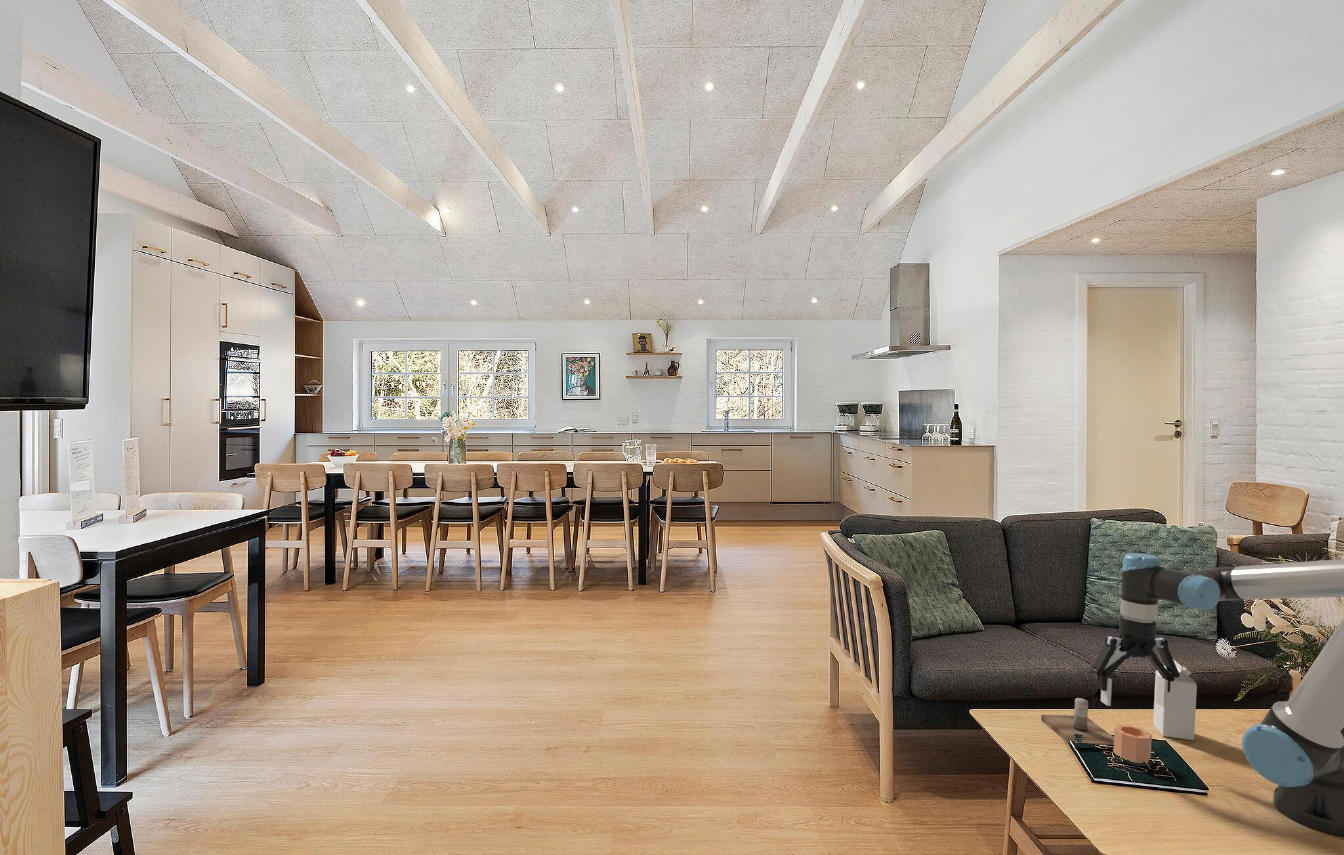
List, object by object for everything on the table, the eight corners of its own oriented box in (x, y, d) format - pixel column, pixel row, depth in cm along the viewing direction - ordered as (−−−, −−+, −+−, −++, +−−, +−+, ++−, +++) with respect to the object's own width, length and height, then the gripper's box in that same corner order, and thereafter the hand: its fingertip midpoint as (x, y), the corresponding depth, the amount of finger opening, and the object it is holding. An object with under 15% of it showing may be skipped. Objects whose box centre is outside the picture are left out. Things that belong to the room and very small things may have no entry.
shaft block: (1122, 749, 178) (1124, 714, 178) (1074, 748, 178) (1076, 713, 178) (1084, 721, 194) (1086, 688, 194) (1041, 720, 194) (1042, 687, 194)
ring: (1156, 767, 170) (1157, 738, 170) (1126, 766, 170) (1127, 737, 169) (1136, 752, 177) (1137, 724, 177) (1107, 751, 177) (1108, 724, 177)
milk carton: (1162, 736, 186) (1166, 665, 186) (1152, 725, 193) (1156, 656, 192) (1194, 741, 184) (1197, 668, 183) (1183, 729, 191) (1186, 659, 190)
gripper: (1178, 614, 176) (1173, 698, 177) (1077, 611, 176) (1073, 696, 177) (1200, 624, 169) (1195, 712, 169) (1096, 621, 168) (1091, 709, 169)
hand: (1133, 704), depth 173 cm, fingers open, 13 cm apart
